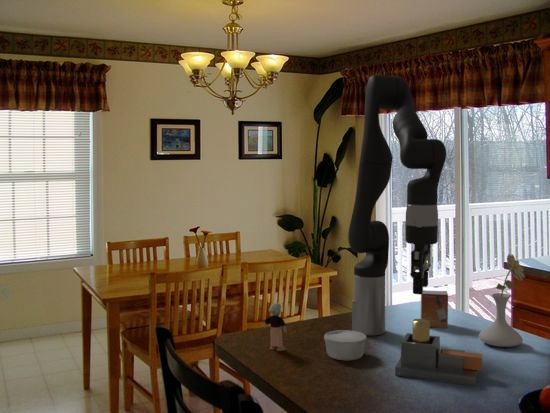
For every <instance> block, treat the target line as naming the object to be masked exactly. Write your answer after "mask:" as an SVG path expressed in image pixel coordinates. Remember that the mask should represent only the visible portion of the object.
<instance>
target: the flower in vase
mask: <svg viewBox="0 0 550 413" xmlns="http://www.w3.org/2000/svg"><path fill="white" fill-rule="evenodd" d="M515 257H516V256H514V254H512V253H511V254H510V253H508V255H507V256H506V262H507V266H508V268H509V271H508V272H507V274H506V276H505V279H504V283H503V285H502V284H501V283H497V285H496V287H495V289H498V290H500V291H501V292H494V293H493V292H492V293H491V294H490V295H491V296H492V298H493V301H494V302H495V309H496V317H495V320H494V322H492V323H491V324H490V325H488V326H487V327H485V328H484V329H482V330H481V331H480V332H479V335H478V338H479V339H480V341H481V342H483V343H485V344H487V345H490V346H493V347H502V348H504V347H505V348H512V347H516V346H519V345H521V344H522V343H523V340H524V339H523V337H522V336H521V334H520V333H519V332H517V330H515V329H514V328H513V327H512V326H511V325H509V324H508V322H507V320H506V309H507V303H508V301H509V299H510V298H512V295H511V294H508V293H505V292H504V290H505V289H506V288H508V289H510V290H512V289H513V288H514V287H515V286H514V283H513V282H512V281H511V280H509V279H508V277H509V275H510V273H512V274H511V275H513V277H514V278H515V279H517V280H518V281H520V282H521V281H524V278H525V277H526V276H525V274H524V272H525V270H524V268H523V267H522V265H521V264H520V261H519V259H516V258H515Z"/></svg>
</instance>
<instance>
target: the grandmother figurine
mask: <svg viewBox="0 0 550 413" xmlns="http://www.w3.org/2000/svg"><path fill="white" fill-rule="evenodd" d="M281 310H282V305H281V303H279V302H274V303H272V304H271V305H270V307H269V309H268V311H269V313H271V315H269V316H268V317H266V319H265V320H264V324H263V326H262V327H263V328H264V329H265V328H267V327H268V325H270V331H269V332H270V333H269V334H270V335H269V336H270V337H269V340H270V347H269V350H272V351H274V350H276V351H277V352H282V351H286V350H287V349H286V347H285V346H284V344H283V343H284V342H283V333H284V334H286V333H288V330H287V325H286V322H285V320H284V319H283V317H281V316H280V315H281ZM282 330H283V331H282Z"/></svg>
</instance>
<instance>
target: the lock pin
mask: <svg viewBox="0 0 550 413" xmlns="http://www.w3.org/2000/svg"><path fill="white" fill-rule="evenodd" d="M440 354H443V355H452V356H461V357H463V369H471V370H478V372H479V371H481V372H482V370H483V353H476V352H467V351H465V352H459V351H450V350H442V353H441V352H440Z"/></svg>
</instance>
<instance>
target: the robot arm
mask: <svg viewBox="0 0 550 413" xmlns="http://www.w3.org/2000/svg"><path fill="white" fill-rule="evenodd" d="M380 110H396V111H397V112H396V113H395V115H394V117H393V119H392V129H393V132H394V134H395V136H396V138H397V140H398V141H399V143H398V144H399V159H400V163H401V164H402V165H403V167H405V168H407V169H409V170H426V172H425V173H424V175H423V176H422V177H419V178H415V179H411V180H409V181H408V182H407V185H406V187H407V189H406V193H407V194H406V209H405V230H404V231H405V235H404V236H405V237H404V238H405V239H404V240H405V242H406V243H407V244H413V245H414V249H413V250H411V252H410V256H411V257H410V277H412V293H413V295H420V296H421V294H422V293H423V290H424V288H427V287H428V286H429V272H430V268H431V256H432V253H431V247H432V246H431V245H436V244H437V243H438V240H439V238H438V237H439V209H438V190H439V189H438V188H439V183H440V179H441V175H442V173H443V172H442V171H443V169H444V165H445V163H446V162H445V161H446V159H447V158H446V157H447V150H446V148H447V147H446V146H445V144H444V142H443V141H442V140H440V139H435V138H433V139H432V138H428V131H427V129H426V127H425V126H424V124H423V122H422V121H421V119H420V117H419V115H418V113H417V110H416V107H415V104H414V99H413V97H412V93H411V89H410V86H409V84H408V82H407V80H406V79H405V78H403V77H401V76H395V75H394V76H393V75H384V74H383V75H382V74H372V75H371V76H370V77H369V78H368V81H367V84H366V89H365V100H364V119H363V120H364V123H363V133H362V142H361V149H360V156H359V164H358V173H357V175H358V177H357V182H356V183H357V184H356V190H355V191H356V192H355V199H354V203H353V208H352V213H351V216H350V217H351V219H350V223H349V228H348V237H347V238H348V245H349V247H350V249H351V251H352V252H354V253H357V254H365V255H364V258H362V260H360V261H358V263H357V262H356V264H355V265H354V269H353V299H352V300H351V302H352V303H351V321H352V322H351V331H357V332H361V333H363V334H365V335H366V336H379V335H383V334H385V332H386V269H387V267H388V264H389V252H390V250H389V249H390V248H389V247H390V233H389V229H388V227H387V225H386V223H384V222H383V221H380V220H372V216H373V212H374V209H375V205H376V203H377V202H378V200H379V199H380V197H381V196H382V195H383V193H384V191H385V190H386V189H387V187H388V184H389V182H390V179H391V176H392V174H391V173H392V166H393V153H392V150H391V147H390V146H389V144H388V142H387V140H386V138H385V136H384V133H383V131H382V128H381V124H380V115H379V114H380Z"/></svg>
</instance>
